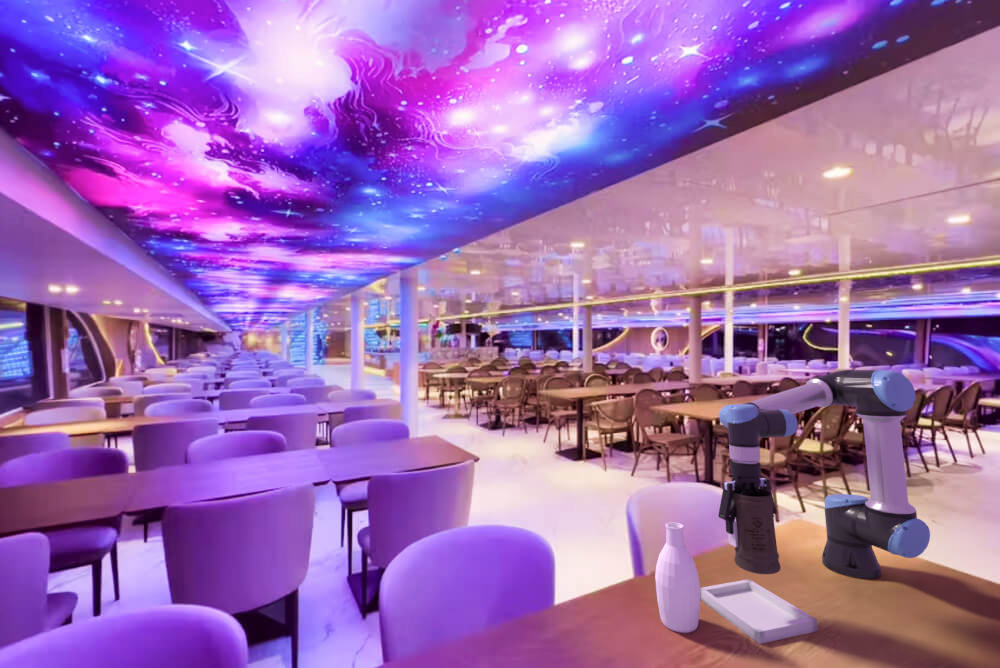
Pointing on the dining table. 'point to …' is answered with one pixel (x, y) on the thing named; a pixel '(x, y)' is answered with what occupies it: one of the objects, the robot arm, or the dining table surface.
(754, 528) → the beer stein
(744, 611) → the tray
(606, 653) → the dining table surface
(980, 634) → the dining table surface
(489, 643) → the dining table surface
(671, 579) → the bottle
